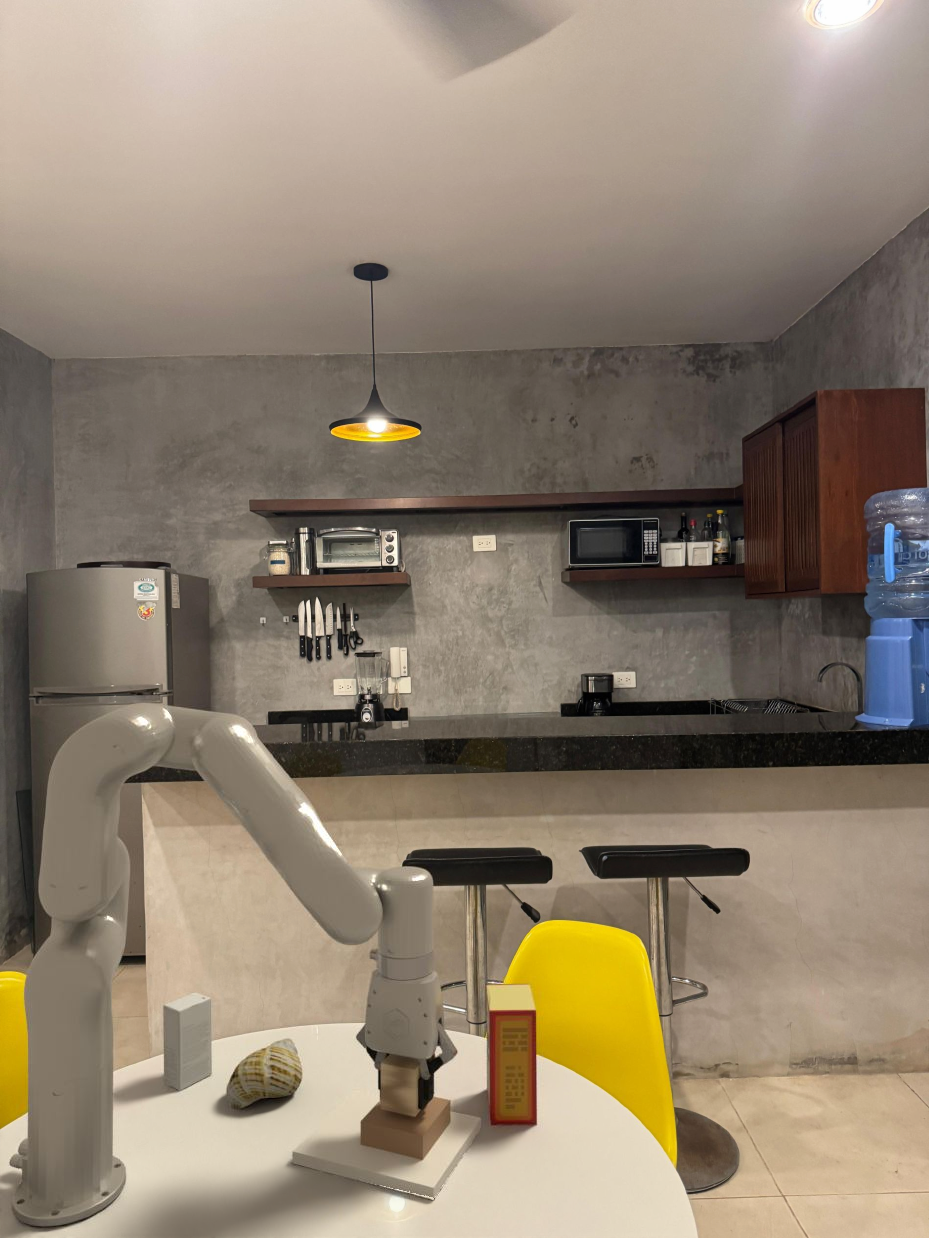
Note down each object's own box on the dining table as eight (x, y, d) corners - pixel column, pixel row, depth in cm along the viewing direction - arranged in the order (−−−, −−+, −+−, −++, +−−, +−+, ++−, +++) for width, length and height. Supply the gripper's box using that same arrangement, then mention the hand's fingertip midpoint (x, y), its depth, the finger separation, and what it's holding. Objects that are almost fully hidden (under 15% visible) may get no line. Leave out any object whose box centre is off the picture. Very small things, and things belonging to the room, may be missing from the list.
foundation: (292, 1163, 109) (292, 1127, 109) (353, 1100, 123) (353, 1069, 123) (433, 1200, 101) (433, 1162, 101) (481, 1129, 116) (480, 1095, 116)
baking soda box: (486, 1089, 126) (486, 981, 127) (530, 1088, 126) (529, 981, 127) (490, 1125, 117) (489, 1008, 117) (536, 1124, 117) (536, 1008, 117)
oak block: (380, 1109, 111) (380, 1062, 111) (397, 1090, 116) (397, 1046, 116) (414, 1116, 109) (414, 1070, 110) (430, 1097, 114) (430, 1052, 114)
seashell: (209, 1103, 122) (229, 1027, 126) (250, 1105, 129) (268, 1034, 134) (264, 1117, 117) (283, 1038, 122) (304, 1118, 124) (320, 1044, 129)
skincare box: (195, 1067, 133) (195, 990, 134) (212, 1075, 131) (212, 997, 131) (161, 1083, 128) (162, 1004, 129) (178, 1092, 126) (179, 1011, 126)
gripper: (336, 963, 113) (336, 1101, 112) (453, 982, 106) (453, 1128, 106) (363, 945, 120) (363, 1074, 119) (474, 961, 113) (475, 1098, 113)
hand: (405, 1098), depth 113 cm, fingers closed on oak block, 4 cm apart
